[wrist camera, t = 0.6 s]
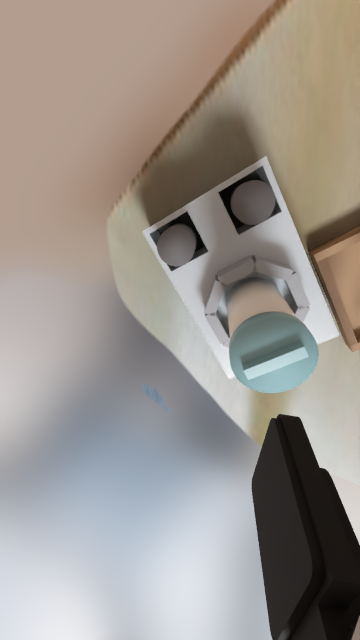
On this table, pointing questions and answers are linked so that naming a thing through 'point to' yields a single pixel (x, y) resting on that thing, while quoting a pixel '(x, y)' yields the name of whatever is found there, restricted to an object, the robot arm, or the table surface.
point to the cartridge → (267, 338)
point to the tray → (342, 282)
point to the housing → (243, 265)
